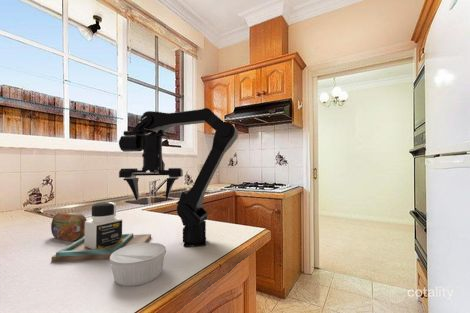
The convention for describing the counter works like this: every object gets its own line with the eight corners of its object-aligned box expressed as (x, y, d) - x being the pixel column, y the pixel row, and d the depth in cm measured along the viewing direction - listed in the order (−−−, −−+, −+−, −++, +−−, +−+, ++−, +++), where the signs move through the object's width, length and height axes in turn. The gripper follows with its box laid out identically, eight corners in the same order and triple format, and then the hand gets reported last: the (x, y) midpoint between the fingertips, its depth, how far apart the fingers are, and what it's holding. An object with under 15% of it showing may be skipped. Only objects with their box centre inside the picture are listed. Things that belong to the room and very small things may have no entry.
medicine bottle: (96, 251, 58) (97, 205, 59) (83, 246, 62) (84, 203, 63) (122, 243, 64) (123, 202, 65) (109, 239, 68) (110, 200, 69)
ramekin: (105, 295, 41) (106, 266, 41) (112, 269, 51) (112, 246, 51) (168, 282, 45) (168, 256, 45) (163, 261, 55) (163, 239, 56)
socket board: (151, 237, 73) (151, 231, 73) (134, 257, 57) (135, 248, 58) (86, 240, 71) (86, 233, 71) (51, 261, 55) (51, 252, 55)
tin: (49, 237, 74) (50, 212, 75) (60, 235, 77) (60, 210, 78) (79, 243, 69) (79, 215, 69) (89, 240, 72) (89, 213, 72)
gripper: (184, 152, 81) (184, 195, 80) (131, 152, 79) (130, 196, 78) (180, 150, 70) (180, 200, 69) (118, 150, 68) (117, 201, 67)
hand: (152, 199), depth 71 cm, fingers open, 9 cm apart
